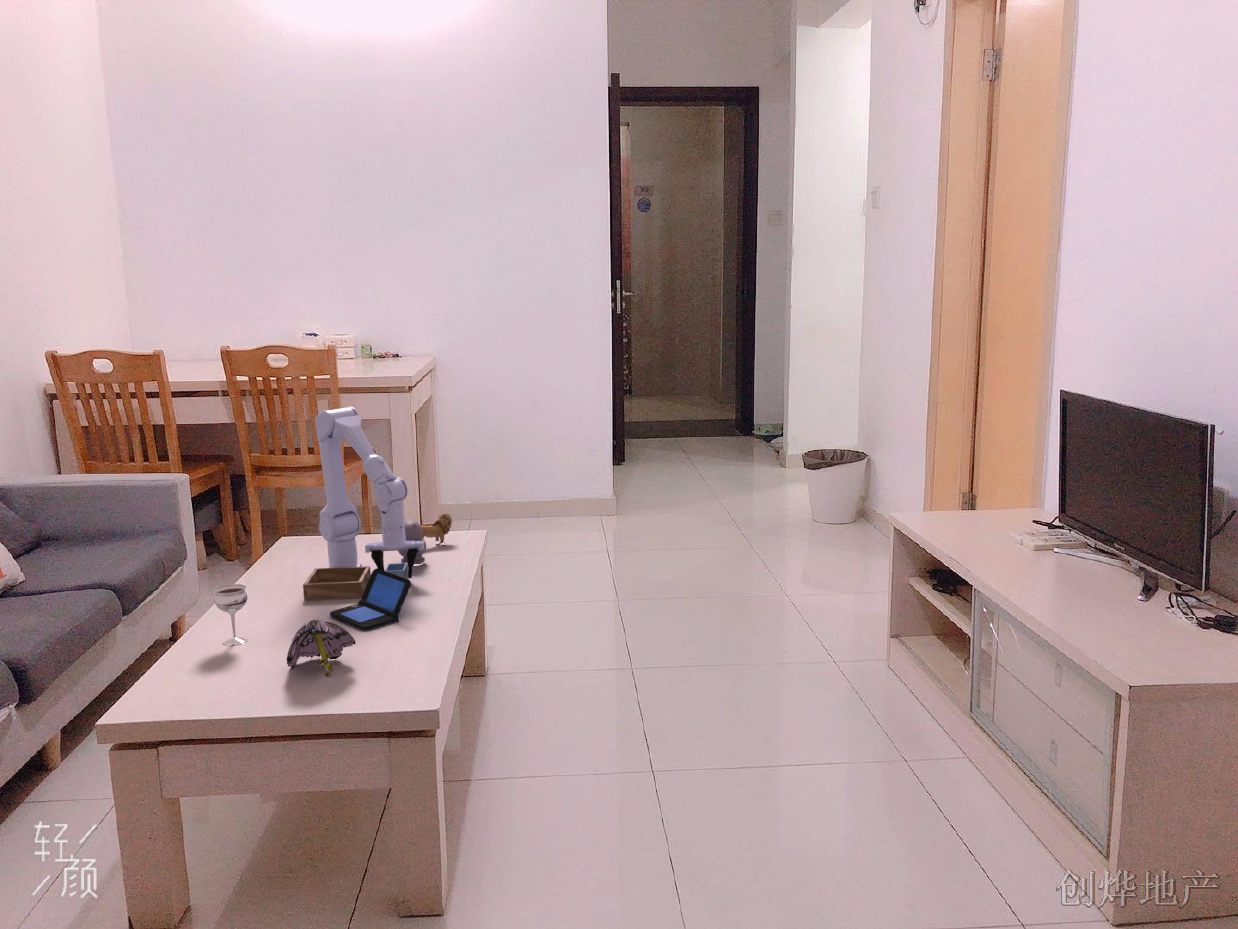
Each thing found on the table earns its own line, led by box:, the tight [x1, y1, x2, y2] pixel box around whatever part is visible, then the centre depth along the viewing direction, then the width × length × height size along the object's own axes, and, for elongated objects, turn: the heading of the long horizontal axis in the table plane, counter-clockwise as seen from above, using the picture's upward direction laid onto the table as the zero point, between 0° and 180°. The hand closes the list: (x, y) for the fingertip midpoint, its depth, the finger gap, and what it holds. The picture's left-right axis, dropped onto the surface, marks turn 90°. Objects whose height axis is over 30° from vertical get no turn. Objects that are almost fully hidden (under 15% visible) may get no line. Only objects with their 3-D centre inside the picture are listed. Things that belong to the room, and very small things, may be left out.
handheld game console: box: [329, 568, 412, 632], centre depth 236 cm, size 16×13×9 cm
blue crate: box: [384, 562, 409, 579], centre depth 262 cm, size 7×5×4 cm
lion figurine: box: [420, 512, 453, 544], centre depth 296 cm, size 15×5×9 cm, turn 130°
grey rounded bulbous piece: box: [398, 518, 427, 564], centre depth 279 cm, size 8×8×12 cm
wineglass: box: [213, 583, 248, 645], centre depth 221 cm, size 7×7×12 cm
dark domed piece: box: [286, 619, 357, 677], centre depth 205 cm, size 14×12×15 cm
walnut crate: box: [302, 565, 372, 601], centre depth 257 cm, size 14×14×4 cm
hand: (396, 577), depth 262 cm, fingers open, 6 cm apart
